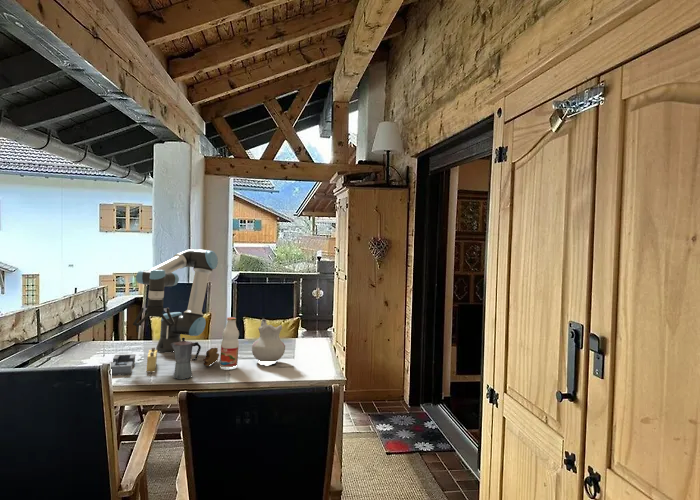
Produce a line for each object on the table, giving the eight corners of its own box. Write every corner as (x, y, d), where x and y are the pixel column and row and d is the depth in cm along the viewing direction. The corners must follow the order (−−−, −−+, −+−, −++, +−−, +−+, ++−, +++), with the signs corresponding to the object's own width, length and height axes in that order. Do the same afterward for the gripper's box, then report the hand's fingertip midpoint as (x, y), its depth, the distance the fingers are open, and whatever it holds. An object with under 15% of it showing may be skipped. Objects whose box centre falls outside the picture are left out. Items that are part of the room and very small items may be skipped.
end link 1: (114, 362, 237) (115, 354, 237) (134, 362, 241) (135, 354, 241) (112, 367, 230) (113, 358, 230) (133, 366, 233) (134, 358, 233)
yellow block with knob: (148, 364, 240) (149, 347, 239) (156, 364, 241) (157, 346, 241) (146, 372, 226) (147, 353, 225) (154, 371, 227) (156, 353, 227)
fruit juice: (240, 367, 244) (243, 317, 244) (230, 371, 236) (233, 320, 235) (226, 364, 248) (230, 315, 248) (215, 368, 239) (219, 317, 239)
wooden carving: (211, 361, 252) (212, 344, 252) (219, 362, 252) (220, 345, 252) (200, 369, 236) (201, 351, 236) (209, 370, 236) (210, 351, 236)
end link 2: (130, 374, 219) (131, 365, 219) (108, 375, 216) (108, 366, 216) (132, 370, 227) (132, 361, 227) (110, 371, 223) (111, 362, 223)
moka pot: (171, 373, 225) (173, 335, 225) (201, 374, 227) (204, 336, 227) (164, 379, 216) (167, 339, 216) (196, 380, 217) (199, 340, 217)
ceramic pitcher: (242, 362, 259) (242, 321, 257) (269, 355, 273) (269, 316, 271) (264, 371, 244) (264, 327, 242) (291, 363, 258) (292, 322, 256)
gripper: (129, 299, 225) (126, 340, 225) (180, 300, 234) (178, 339, 234) (130, 297, 232) (127, 337, 232) (180, 298, 241) (178, 336, 241)
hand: (153, 338), depth 233 cm, fingers open, 13 cm apart
